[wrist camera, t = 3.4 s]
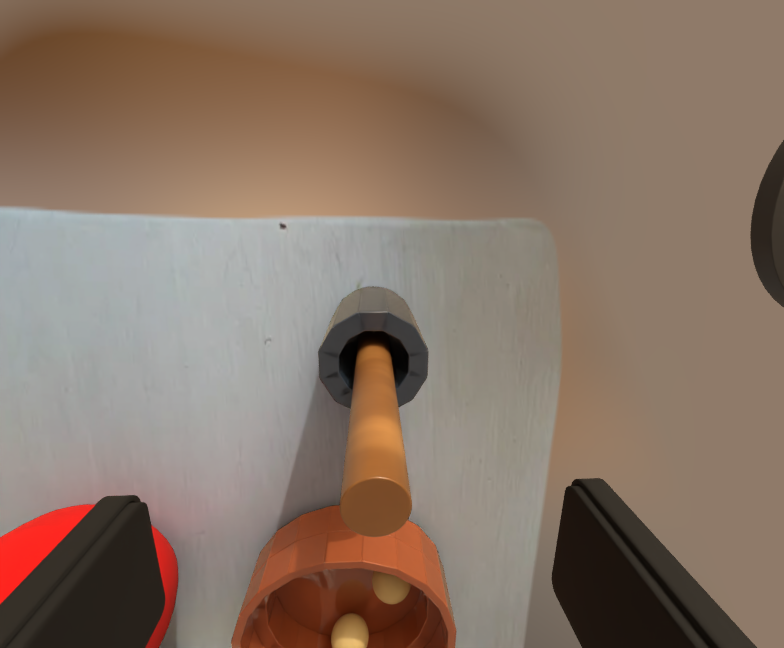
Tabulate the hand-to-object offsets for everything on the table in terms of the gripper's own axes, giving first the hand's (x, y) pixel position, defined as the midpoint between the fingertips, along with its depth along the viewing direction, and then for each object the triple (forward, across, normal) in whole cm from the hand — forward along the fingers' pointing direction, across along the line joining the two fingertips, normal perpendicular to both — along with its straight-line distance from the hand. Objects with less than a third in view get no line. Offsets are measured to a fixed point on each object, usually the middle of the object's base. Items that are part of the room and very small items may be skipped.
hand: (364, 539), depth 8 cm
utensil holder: (+17, 0, 0) cm, 17 cm away
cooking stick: (+17, 0, 0) cm, 17 cm away
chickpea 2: (+15, -2, +20) cm, 25 cm away
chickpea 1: (+15, +2, +25) cm, 30 cm away
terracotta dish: (+17, +2, +21) cm, 28 cm away
